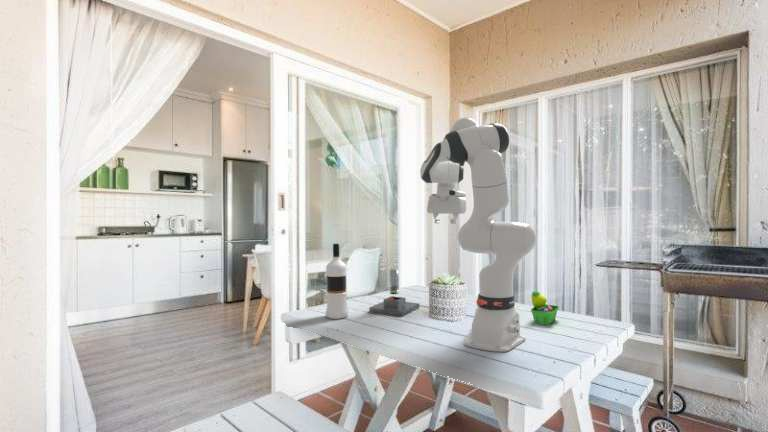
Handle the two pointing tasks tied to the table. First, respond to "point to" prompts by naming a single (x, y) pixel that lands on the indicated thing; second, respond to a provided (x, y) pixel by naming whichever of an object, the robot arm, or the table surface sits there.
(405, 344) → the table surface
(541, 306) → the fruit basket
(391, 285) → the column
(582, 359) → the table surface
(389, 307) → the stand base
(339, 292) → the vodka
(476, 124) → the robot arm
